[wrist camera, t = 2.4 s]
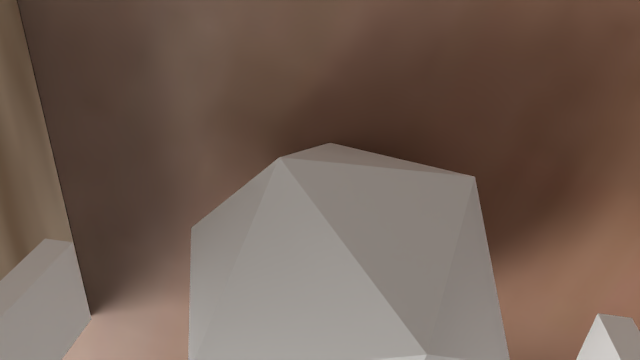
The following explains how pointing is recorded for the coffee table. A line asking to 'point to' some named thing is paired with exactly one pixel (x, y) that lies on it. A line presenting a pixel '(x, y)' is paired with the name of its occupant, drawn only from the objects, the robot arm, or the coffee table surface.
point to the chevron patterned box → (24, 153)
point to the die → (345, 265)
